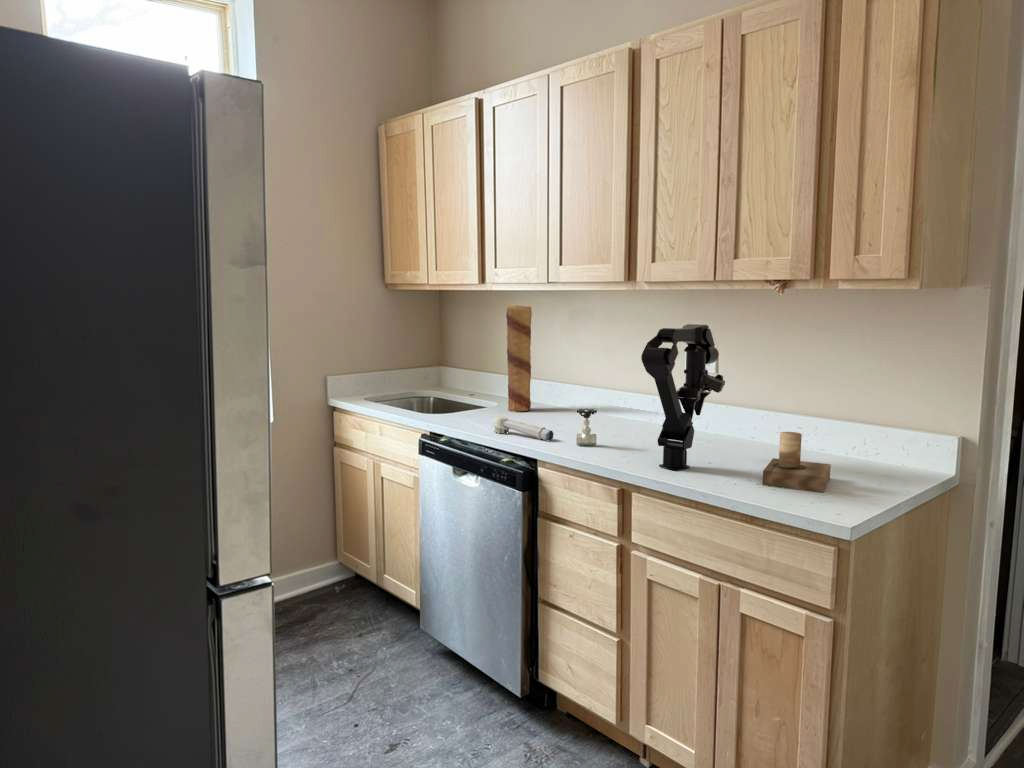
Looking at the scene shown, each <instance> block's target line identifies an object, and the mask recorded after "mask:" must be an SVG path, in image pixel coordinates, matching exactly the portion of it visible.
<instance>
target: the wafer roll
mask: <svg viewBox="0 0 1024 768" xmlns="http://www.w3.org/2000/svg"><path fill="white" fill-rule="evenodd" d="M532 314H533V313H532V307H531V306H525V305H508V306H507V307H506V315H505V316H506V328H507V330H506V332H507V335H506V339H507V344H506V347H507V349H506V356H507V360H506V361H507V382H508V383H507V397H508V398H507V399H508V402H507V403H508V408H507V409H508V410H507V411H509V410H510V412H512V411H517V412H516V413H519V412H528V411H530V410H531V406H532V405H531V404H532V401H531V381H532V380H531V378H532V377H531V376H532V364H531V343H532V342H531V339H532V336H531V334H532V326H531V325H532V317H533V316H532Z"/></svg>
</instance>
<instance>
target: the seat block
mask: <svg viewBox="0 0 1024 768" xmlns="http://www.w3.org/2000/svg"><path fill="white" fill-rule="evenodd" d="M831 466H832V465H831V464H830V463H823V462H815V461H814V462H813V461H802V460H800V468H798V469H787V468H782V467H779V458H775V457H773V458H772V459H771V460H770V461H769V463H768V464H767V465H766V467H765V468H764V469H763V470H762V483H761V484H762V486H764V485H768V486H767V487H772V486H775V487H774V488H781V487H784V488H783V489H789V488H790V489H789V490H798V491H799V490H800V491H807V492H814V493H825V491H826V489H827V486H828V484H829V482H830V480H831Z"/></svg>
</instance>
